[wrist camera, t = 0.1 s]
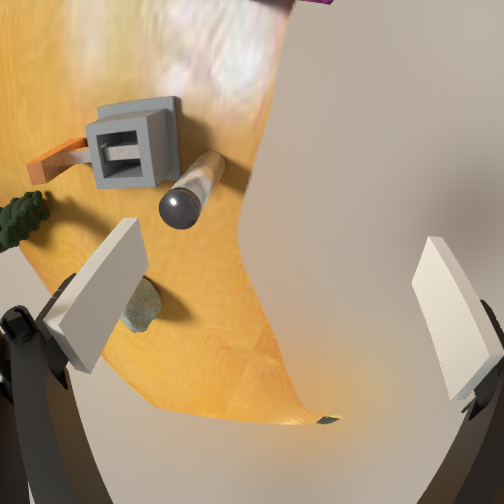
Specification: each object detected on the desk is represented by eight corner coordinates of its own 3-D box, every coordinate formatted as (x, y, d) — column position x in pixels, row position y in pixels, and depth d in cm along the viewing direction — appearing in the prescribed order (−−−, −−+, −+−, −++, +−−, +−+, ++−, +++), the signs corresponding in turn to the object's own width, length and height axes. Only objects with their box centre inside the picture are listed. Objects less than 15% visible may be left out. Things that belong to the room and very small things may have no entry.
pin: (69, 140, 39) (26, 163, 30) (156, 128, 37) (118, 150, 29) (72, 158, 41) (32, 185, 32) (158, 150, 39) (123, 177, 31)
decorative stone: (165, 272, 52) (116, 287, 45) (174, 326, 55) (129, 345, 48) (132, 262, 61) (90, 273, 53) (140, 309, 63) (102, 323, 56)
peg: (196, 150, 39) (155, 192, 28) (225, 150, 39) (196, 192, 27) (198, 178, 41) (162, 228, 30) (226, 178, 41) (200, 230, 30)
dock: (100, 106, 36) (72, 117, 30) (174, 95, 35) (152, 103, 29) (112, 179, 43) (88, 199, 37) (182, 177, 42) (164, 198, 36)
